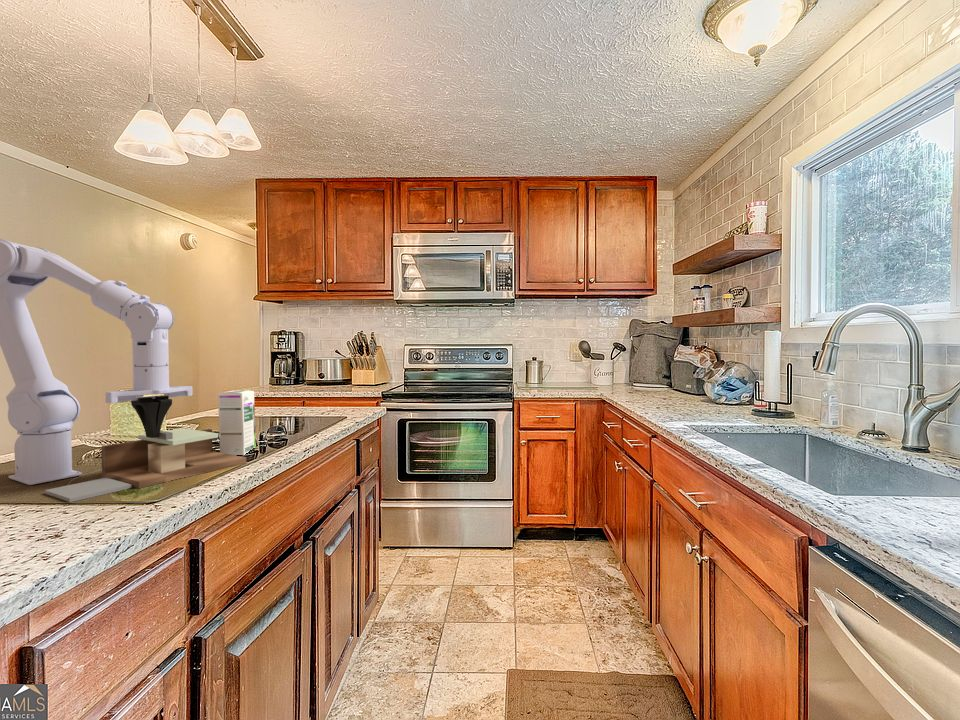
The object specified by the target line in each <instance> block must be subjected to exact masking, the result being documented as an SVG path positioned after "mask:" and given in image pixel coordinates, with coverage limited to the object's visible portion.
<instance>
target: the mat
mask: <svg viewBox="0 0 960 720" xmlns="http://www.w3.org/2000/svg"><path fill="white" fill-rule="evenodd" d="M128 489H132V484H128V483H124V482H121V481H117V480H113V479H109V478H102V477H100V478H97V479H92V480H91V479H90V480H88V481H87V480H86V481H82V482H78V483H73V484H68V485H63V486H59V487H54V488H49V489H45V490H44V494H45V495H48V496H51V497H54V498H57V499H60V500H62V501H65V502H68V503H72V502H77V501H82V500H85V499H91V498H94V497H99V496H103V495H107V494H110V493H115V492H119V491H124V490H128Z"/></svg>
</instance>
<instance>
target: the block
mask: <svg viewBox="0 0 960 720" xmlns="http://www.w3.org/2000/svg"><path fill="white" fill-rule="evenodd" d="M182 468H185V443H183V444H178V445H168V444H163V443H153V444H148V471H149V472H153V473H157V474H160V473H164V472H169V471H173V470H178V469H182Z"/></svg>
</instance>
